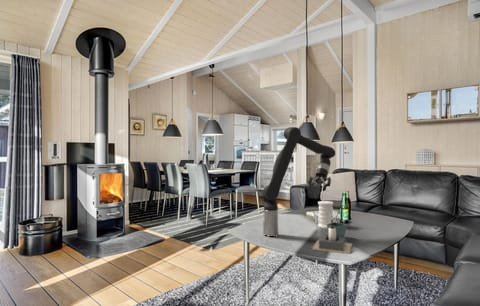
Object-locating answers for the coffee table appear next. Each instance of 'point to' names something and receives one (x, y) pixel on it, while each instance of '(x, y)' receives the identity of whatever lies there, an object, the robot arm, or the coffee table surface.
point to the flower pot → (338, 228)
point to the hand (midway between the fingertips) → (316, 190)
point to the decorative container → (325, 213)
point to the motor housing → (332, 245)
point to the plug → (332, 232)
